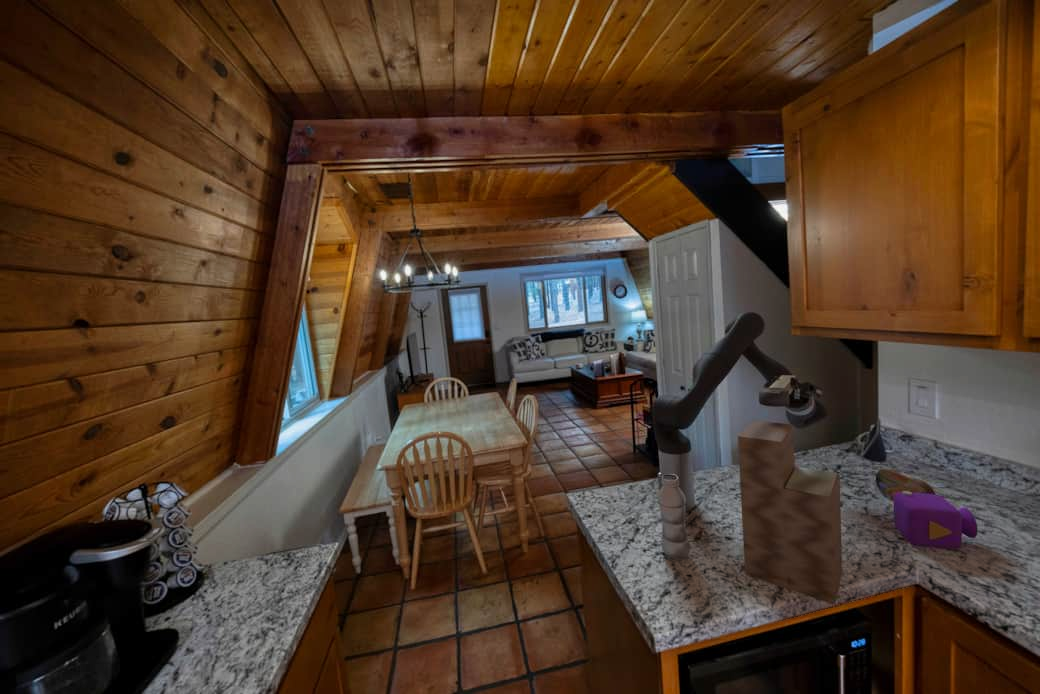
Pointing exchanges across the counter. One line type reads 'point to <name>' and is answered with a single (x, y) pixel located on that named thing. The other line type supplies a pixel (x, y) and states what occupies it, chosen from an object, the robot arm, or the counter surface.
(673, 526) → the plastic bottle
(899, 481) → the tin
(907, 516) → the toy camera
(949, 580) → the counter surface
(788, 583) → the step stand
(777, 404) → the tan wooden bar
